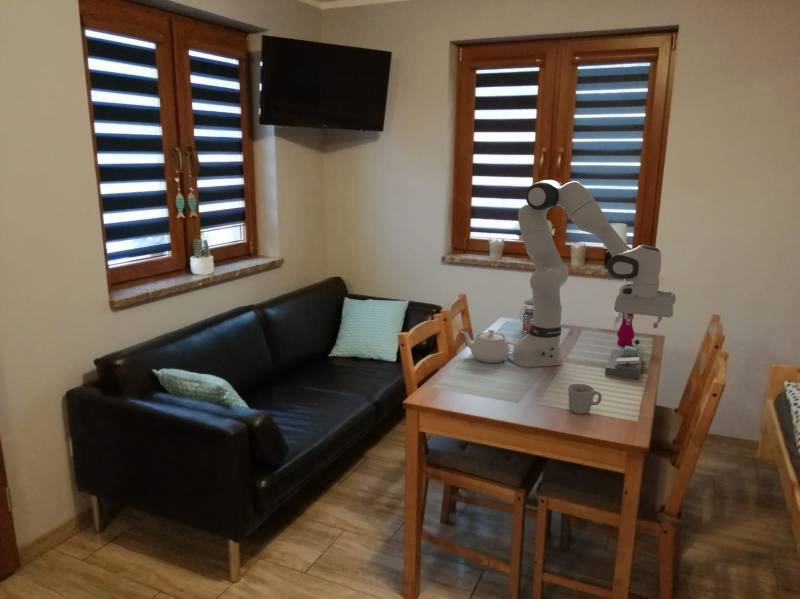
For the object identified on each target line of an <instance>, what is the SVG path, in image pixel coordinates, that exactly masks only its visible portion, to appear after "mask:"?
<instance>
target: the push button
mask: <svg viewBox="0 0 800 599" xmlns="http://www.w3.org/2000/svg"><path fill="white" fill-rule="evenodd" d="M623 350H624V355H630V356H636V354H637V352H638V347H637V346H636V347H633V346H624V348H623Z"/></svg>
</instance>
